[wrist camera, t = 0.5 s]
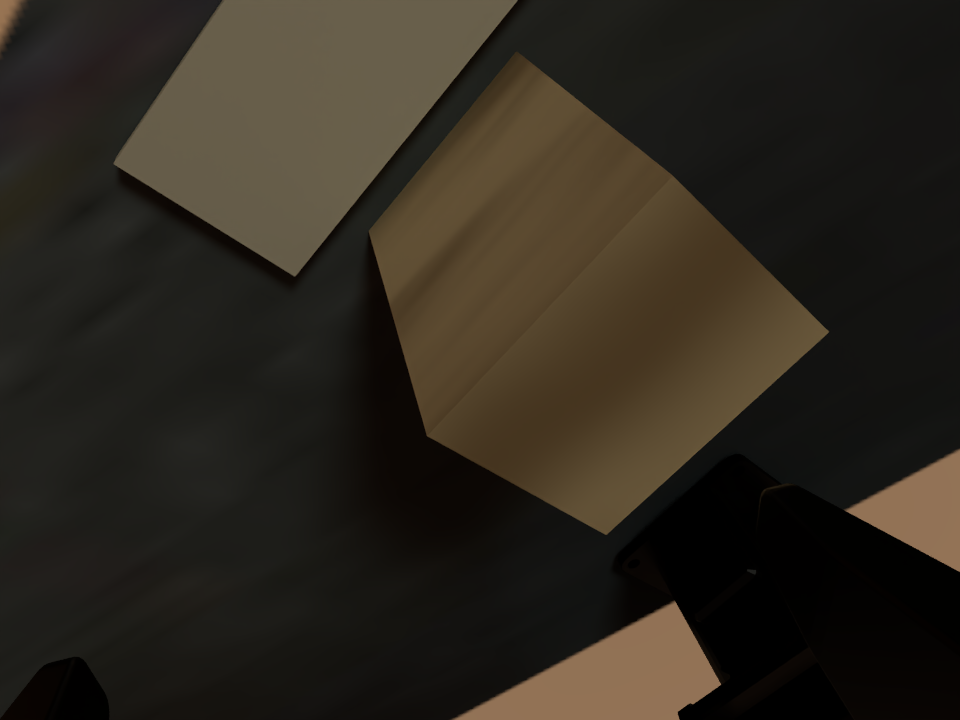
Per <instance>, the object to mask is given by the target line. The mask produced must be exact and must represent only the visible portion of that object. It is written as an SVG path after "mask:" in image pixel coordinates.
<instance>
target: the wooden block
mask: <svg viewBox="0 0 960 720" xmlns="http://www.w3.org/2000/svg"><path fill="white" fill-rule="evenodd" d="M369 234H370V238H371V241H372V245H373V248H374V252H375V255H376V259H377V262H378V266H379V269H380V273H381V276H382V280H383V283H384V287H385V290H386V294H387V297H388V301H389V304H390V308H391V311H392V315H393V318H394V322H395V326H396V329H397V333H398V336H399V340H400V343H401V347H402V350H403V354H404V357H405V361H406V364H407V368H408V371H409V375H410V378H411V382H412V385H413V389H414V392H415V396H416V399H417V403H418V406H419V410H420V413H421V417H422V420H423V424H424V427H425V431H426V434H427V436H428V437H430V438H432V439H433V440H435V441H437V442H439V443H441V444H442V445H444V446H446V447H448V448H450V449H451V450H453V451H455V452H457V453H459V454H461V455H462V456H464V457H466V458H468V459H470V460H471V461H473V462H475V463H477V464H479V465H480V466H482V467H484V468H486V469H488V470H489V471H491V472H493V473H495V474H497V475H499V476H500V477H502V478H504V479H506V480H508V481H509V482H511V483H513V484H515V485H517V486H518V487H520V488H522V489H524V490H526V491H527V492H529V493H531V494H533V495H535V496H537V497H538V498H540V499H542V500H544V501H546V502H547V503H549V504H551V505H553V506H555V507H556V508H558V509H560V510H562V511H564V512H565V513H567V514H569V515H571V516H573V517H575V518H576V519H578V520H580V521H582V522H584V523H585V524H587V525H589V526H591V527H593V528H594V529H596V530H598V531H600V532H602V533H603V534H605V535H607V534H608V533H609V532H610V531H611V530H612V529H613V528H614V527H615V526H616V525H618V524H619V523H620V522H621V521H622V520H623V519H624V518H625V517H626V516H627V515H629V514H630V513H631V512H632V511H633V510H634V509H635V508H636V507H637V506H638V505H640V504H641V503H642V502H643V501H644V500H645V499H646V498H647V497H648V496H649V495H651V494H652V493H653V492H654V491H655V490H656V489H657V488H658V487H659V486H660V485H662V484H663V483H664V482H665V481H666V480H667V479H668V478H669V477H670V476H671V475H673V474H674V473H675V472H676V471H677V470H678V469H679V468H680V467H681V466H682V465H683V464H685V463H686V462H687V461H688V460H689V459H690V458H691V457H692V456H693V455H694V454H696V453H697V452H698V451H699V450H700V449H701V448H702V447H703V446H704V445H705V444H707V443H708V442H709V441H710V440H711V439H712V438H713V437H714V436H715V435H716V434H718V433H719V432H720V431H721V430H722V429H723V428H724V427H725V426H726V425H727V424H729V423H730V422H731V421H732V420H733V419H734V418H735V417H736V416H737V415H738V414H739V413H741V412H742V411H743V410H744V409H745V408H746V407H747V406H748V405H749V404H750V403H752V402H753V401H754V400H755V399H756V398H757V397H758V396H759V395H760V394H761V393H763V392H764V391H765V390H766V389H767V388H768V387H769V386H770V385H771V384H772V383H774V382H775V381H776V380H777V379H778V378H779V377H780V376H781V375H782V374H783V373H785V372H786V371H787V370H788V369H789V368H790V367H791V366H792V365H793V364H794V363H796V362H797V361H798V360H799V359H800V358H801V357H802V356H803V355H804V354H805V353H806V352H808V351H809V350H810V349H811V348H812V347H813V346H814V345H815V344H816V343H817V342H819V341H820V340H821V339H822V338H823V337H824V336H825V335H826V334H827V333H828V331H827V330H826V329H825V328H824V327H823V326H822V325H821V324H820V323H819V322H818V321H817V320H816V319H815V318H814V317H813V316H812V315H811V314H810V313H809V312H808V311H807V310H806V309H805V308H804V307H803V306H802V305H801V304H800V303H799V302H798V301H797V300H796V299H795V298H794V297H793V296H792V295H791V294H790V293H789V292H788V291H787V290H786V289H785V288H784V287H783V286H782V285H781V284H780V283H779V282H778V281H777V280H776V279H775V278H774V277H773V276H772V275H771V274H770V273H769V272H768V271H767V270H766V269H765V268H764V267H763V266H762V265H761V264H760V263H759V262H758V261H757V260H756V259H755V258H754V257H753V256H752V255H751V254H750V253H749V252H748V251H747V250H746V249H745V248H744V247H743V246H742V245H741V244H740V243H739V242H738V241H737V240H736V239H735V238H734V237H733V236H732V235H731V234H730V233H729V232H728V231H727V230H726V229H725V228H724V227H723V226H722V225H721V224H720V223H719V222H718V221H717V220H716V219H715V218H714V217H713V216H712V215H711V214H710V213H709V212H708V211H707V210H706V209H705V208H704V207H703V206H702V205H701V204H700V203H699V202H698V201H697V200H696V199H695V198H694V197H693V196H692V195H691V194H690V193H689V192H688V191H687V190H686V189H685V188H684V187H683V186H682V185H681V184H680V183H679V182H678V181H677V180H676V179H675V178H674V177H673V176H672V175H671V174H670V173H669V172H667V171H666V170H665V169H663V168H662V167H661V166H660V165H658V164H657V163H656V162H655V161H653V160H652V159H651V158H650V157H648V156H647V155H646V154H645V153H643V152H642V151H641V150H640V149H638V148H637V147H636V146H635V145H633V144H632V143H631V142H630V141H628V140H627V139H626V138H625V137H623V136H622V135H621V134H620V133H618V132H617V131H616V130H615V129H613V128H612V127H611V126H610V125H608V124H607V123H606V122H605V121H603V120H602V119H601V118H600V117H598V116H597V115H596V114H594V113H593V112H592V111H591V110H589V109H588V108H587V107H586V106H584V105H583V104H582V103H581V102H579V101H578V100H577V99H576V98H574V97H573V96H572V95H571V94H569V93H568V92H567V91H566V90H564V89H563V88H562V87H561V86H559V85H558V84H557V83H556V82H554V81H553V80H552V79H551V78H549V77H548V76H547V75H546V74H544V73H543V72H542V71H541V70H539V69H538V68H537V67H536V66H534V65H533V64H532V63H531V62H529V61H528V60H527V59H526V58H524V57H523V56H522V55H520V54H519V53H518V52H516V53H515V54H514V55H513V56H512V58H511V59H510V60H509V61H508V62H507V64H506V65H505V66H504V67H503V69H502V70H501V71H500V72H499V73H498V75H497V76H496V77H495V78H494V79H493V81H492V82H491V83H490V84H489V86H488V87H487V88H486V89H485V90H484V92H483V93H482V94H481V95H480V97H479V98H478V99H477V100H476V101H475V103H474V104H473V105H472V106H471V107H470V109H469V110H468V111H467V112H466V114H465V115H464V116H463V117H462V118H461V120H460V121H459V122H458V123H457V124H456V126H455V127H454V128H453V129H452V131H451V132H450V133H449V134H448V135H447V137H446V138H445V139H444V140H443V141H442V143H441V144H440V145H439V146H438V148H437V149H436V150H435V151H434V152H433V154H432V155H431V156H430V157H429V158H428V160H427V161H426V162H425V163H424V165H423V166H422V167H421V168H420V169H419V171H418V172H417V173H416V174H415V175H414V177H413V178H412V179H411V180H410V182H409V183H408V184H407V185H406V186H405V188H404V189H403V190H402V191H401V192H400V194H399V195H398V196H397V197H396V199H395V200H394V201H393V202H392V203H391V205H390V206H389V207H388V208H387V209H386V211H385V212H384V213H383V214H382V216H381V217H380V218H379V219H378V220H377V222H376V223H375V224H374V225H373V226H372V228H371V229H370V230H369Z"/></svg>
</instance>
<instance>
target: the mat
mask: <svg viewBox="0 0 960 720" xmlns="http://www.w3.org/2000/svg"><path fill="white" fill-rule="evenodd" d="M517 1H518V0H222V2H221V3H220V5H219V6H218V8H217V9H216V10H215V12H214V13H213V15H212V16H211V18H210V19H209V21H208V22H207V24H206V25H205V27H204V28H203V30H202V31H201V33H200V34H199V36H198V37H197V38H196V40H195V41H194V43H193V44H192V46H191V47H190V49H189V50H188V52H187V53H186V55H185V56H184V58H183V59H182V61H181V62H180V64H179V65H178V67H177V68H176V69H175V71H174V72H173V74H172V75H171V77H170V78H169V80H168V81H167V83H166V84H165V86H164V87H163V89H162V90H161V92H160V93H159V95H158V96H157V97H156V99H155V100H154V102H153V103H152V105H151V106H150V108H149V109H148V111H147V112H146V114H145V115H144V117H143V118H142V120H141V121H140V123H139V124H138V126H137V127H136V128H135V130H134V131H133V133H132V134H131V136H130V137H129V139H128V140H127V142H126V143H125V145H124V146H123V148H122V149H121V151H120V152H119V154H118V155H117V157H116V159H115V161H114V165H116V166H117V167H119V168H121V169H122V170H124V171H126V172H127V173H129V174H130V175H132V176H134V177H135V178H137V179H138V180H140V181H142V182H143V183H145V184H146V185H148V186H150V187H151V188H153V189H155V190H156V191H158V192H159V193H161V194H163V195H164V196H166V197H167V198H169V199H171V200H172V201H174V202H175V203H177V204H179V205H180V206H182V207H183V208H185V209H187V210H188V211H190V212H192V213H193V214H195V215H196V216H198V217H200V218H201V219H203V220H204V221H206V222H208V223H209V224H211V225H212V226H214V227H216V228H217V229H219V230H221V231H222V232H224V233H225V234H227V235H229V236H230V237H232V238H233V239H235V240H237V241H238V242H240V243H241V244H243V245H245V246H246V247H248V248H250V249H251V250H253V251H254V252H256V253H258V254H259V255H261V256H262V257H264V258H266V259H267V260H269V261H270V262H272V263H274V264H275V265H277V266H279V267H280V268H282V269H283V270H285V271H287V272H288V273H290V274H291V275H293V276H296V275H297V274H298V272H299V271H300V270H301V269H302V267H303V266H304V265H305V264H306V262H307V261H308V260H309V259H310V258H311V256H312V255H313V254H314V253H315V251H316V250H317V249H318V248H319V246H320V245H321V244H322V243H323V241H324V240H325V239H326V238H327V236H328V235H329V234H330V233H331V231H332V230H333V229H334V228H335V226H336V225H337V224H338V223H339V222H340V220H341V219H342V218H343V217H344V215H345V214H346V213H347V212H348V210H349V209H350V208H351V207H352V205H353V204H354V203H355V202H356V200H357V199H358V198H359V197H360V195H361V194H362V193H363V192H364V190H365V189H366V188H367V187H368V186H369V184H370V183H371V182H372V181H373V179H374V178H375V177H376V176H377V174H378V173H379V172H380V171H381V169H382V168H383V167H384V166H385V164H386V163H387V162H388V161H389V159H390V158H391V157H392V156H393V154H394V153H395V152H396V151H397V150H398V148H399V147H400V146H401V145H402V143H403V142H404V141H405V140H406V138H407V137H408V136H409V135H410V133H411V132H412V131H413V130H414V128H415V127H416V126H417V125H418V123H419V122H420V121H421V120H422V118H423V117H424V116H425V115H426V114H427V112H428V111H429V110H430V109H431V107H432V106H433V105H434V104H435V102H436V101H437V100H438V99H439V97H440V96H441V95H442V94H443V92H444V91H445V90H446V89H447V87H448V86H449V85H450V84H451V82H452V81H453V80H454V79H455V78H456V76H457V75H458V74H459V73H460V71H461V70H462V69H463V68H464V66H465V65H466V64H467V63H468V61H469V60H470V59H471V58H472V56H473V55H474V54H475V53H476V51H477V50H478V49H479V48H480V46H481V45H482V44H483V43H484V42H485V40H486V39H487V38H488V37H489V35H490V34H491V33H492V32H493V30H494V29H495V28H496V27H497V25H498V24H499V23H500V22H501V20H502V19H503V18H504V17H505V15H506V14H507V13H508V12H509V10H510V9H511V8H512V7H513V6H514V4H515V3H516V2H517Z"/></svg>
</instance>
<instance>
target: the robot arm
mask: <svg viewBox="0 0 960 720" xmlns="http://www.w3.org/2000/svg"><path fill="white" fill-rule="evenodd" d="M618 561H619V564H620V566H621V568H622V570H623V571H624V572H626V573H628V574H630V575H632V576H634V577H636V578H637V579H639V580H641V581H643V582H645V583H647V584H649V585H651V586H653V587H655V588H657V589H658V590H660V591H662V592H664V593H666V594H668V595H670V596H672V597H673V598H674V600H675V602H676V603H677V605H678V607H679V609H680V610H681V612H682V614H683V616H684V618H685V620H686V621H687V623H688V625H689V627H690V629H691V631H692V632H693V634H694V636H695V638H696V639H697V641H698V643H699V645H700V647H701V649H702V650H703V652H704V654H705V656H706V658H707V659H708V661H709V663H710V665H711V667H712V669H713V670H714V672H715V674H716V676H717V677H718V679H719V681H720V683H721V685H720V686H719V687H718V688H716V689H715V690H713V691H712V692H711V693H709V694H708V695H706V696H705V697H703V698H702V699H700V700H699V701H698V702H696V703H695V704H688V705H687V706H685V707H684V708H683V709H681V710H680V711H678V716H679V719H680V720H960V572H959V571H957V570H955V569H953V568H951V567H949V566H947V565H945V564H944V563H942V562H940V561H938V560H936V559H934V558H932V557H930V556H929V555H926V554H925V553H923V552H921V551H919V550H917V549H916V548H914V547H912V546H910V545H908V544H906V543H904V542H902V541H901V540H899V539H897V538H895V537H893V536H891V535H889V534H887V533H885V532H884V531H882V530H880V529H878V528H876V527H874V526H872V525H871V524H869V523H867V522H865V521H863V520H861V519H859V518H857V517H855V516H854V515H851V514H850V513H848V512H846V511H844V510H842V509H840V508H839V507H837V506H835V505H833V504H831V503H829V502H827V501H825V500H824V499H822V498H820V497H818V496H816V495H814V494H812V493H810V492H809V491H807V490H805V489H803V488H801V487H799V486H797V485H794V484H789V483H788V484H783V485H782V484H781V483H780V482H778V481H777V480H776V479H774V478H773V477H771V476H770V475H769V474H767V473H766V472H765V471H763V470H762V469H761V468H759V467H758V466H757V465H755V464H754V463H753V462H751V461H750V460H749V459H747V458H746V457H745V456H743V455H741V454H735V455H732V456H730V457H728V458H727V459H725V460H724V461H723V462H722V463H721V464H720V465H719V466H718V467H716V468H715V469H714V470H713V471H712V472H711V473H710V474H709V475H708V476H706V477H705V478H704V479H703V480H702V481H701V482H700V483H699V484H697V485H696V486H695V487H694V488H693V489H692V490H691V491H690V492H689V493H687V494H686V495H685V496H684V497H683V498H682V499H681V500H680V501H678V502H677V503H676V504H675V505H674V506H673V507H672V508H671V509H670V510H668V511H667V512H666V513H665V514H664V515H663V516H662V517H661V518H660V519H658V520H657V521H656V522H655V523H654V524H653V525H652V526H651V527H649V528H648V529H647V530H646V531H645V532H644V533H643V534H642V535H641V536H639V537H638V538H637V539H636V540H635V541H634V542H633V543H632V544H630V545H629V546H628V547H627V548H626V549H625V550H624V551H623V552H622V553H621V554H620V555H619V558H618ZM0 720H109V705H108V700H107V697H106V694H105V692H104V691H103V689H102V688H101V686H100V684H99V683H98V681H97V680H96V678H95V676H94V675H93V673H92V672H91V670H90V668H89V667H88V665H87V664H86V662H85V661H84V660H83V659H81V658H79V657H72V658H67V659H63V660H59V661H55V662H51V663H48V664H46V665H44V666H43V667H42V668H41V669H39V671H38V672H37V673H36V674H35V675H34V677H33V678H32V679H31V680H30V682H29V683H28V684H27V686H26V687H25V688H24V689H23V691H22V692H21V693H20V694H19V696H18V697H17V698H16V699H15V701H14V702H13V703H12V704H11V706H10V707H9V708H8V710H7V711H6V712H5V713H4V715H3V716H2V717H1V718H0Z"/></svg>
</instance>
